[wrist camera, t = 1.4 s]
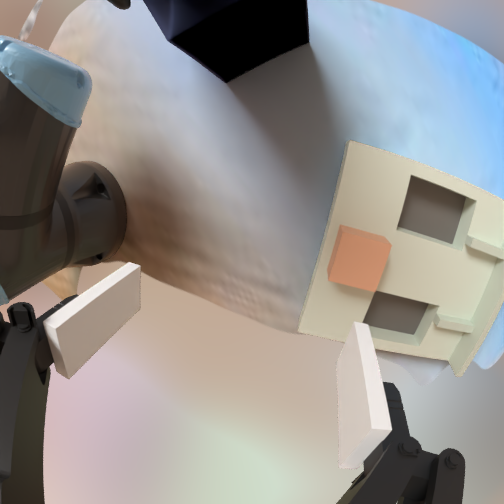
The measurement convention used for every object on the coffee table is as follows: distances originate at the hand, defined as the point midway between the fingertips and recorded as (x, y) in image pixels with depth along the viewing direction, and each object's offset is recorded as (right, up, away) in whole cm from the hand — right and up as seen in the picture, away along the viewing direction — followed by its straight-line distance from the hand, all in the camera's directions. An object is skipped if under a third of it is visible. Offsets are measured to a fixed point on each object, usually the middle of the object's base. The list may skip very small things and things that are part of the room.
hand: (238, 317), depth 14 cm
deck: (+20, +2, +17) cm, 26 cm away
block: (+11, +3, +15) cm, 19 cm away
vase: (0, +28, +12) cm, 31 cm away
